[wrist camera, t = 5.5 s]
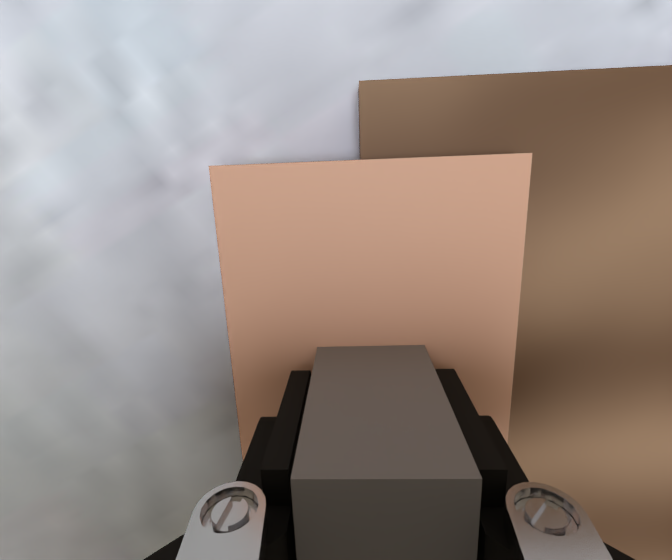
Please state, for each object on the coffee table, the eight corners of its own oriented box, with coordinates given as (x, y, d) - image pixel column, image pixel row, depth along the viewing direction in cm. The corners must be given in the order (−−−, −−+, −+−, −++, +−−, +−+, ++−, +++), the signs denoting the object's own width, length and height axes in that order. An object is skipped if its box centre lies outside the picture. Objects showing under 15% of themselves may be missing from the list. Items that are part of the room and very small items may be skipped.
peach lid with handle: (486, 569, 14) (578, 836, 8) (262, 567, 14) (204, 821, 9) (518, 154, 10) (718, 128, 5) (219, 166, 11) (72, 155, 5)
